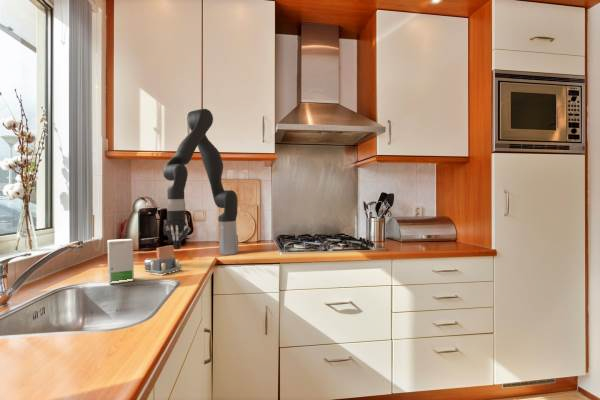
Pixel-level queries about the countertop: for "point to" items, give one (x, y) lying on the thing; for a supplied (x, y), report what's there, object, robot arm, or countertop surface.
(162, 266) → the peg board
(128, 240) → the skincare box
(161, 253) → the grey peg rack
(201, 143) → the robot arm
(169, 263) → the steel bar
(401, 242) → the countertop surface
